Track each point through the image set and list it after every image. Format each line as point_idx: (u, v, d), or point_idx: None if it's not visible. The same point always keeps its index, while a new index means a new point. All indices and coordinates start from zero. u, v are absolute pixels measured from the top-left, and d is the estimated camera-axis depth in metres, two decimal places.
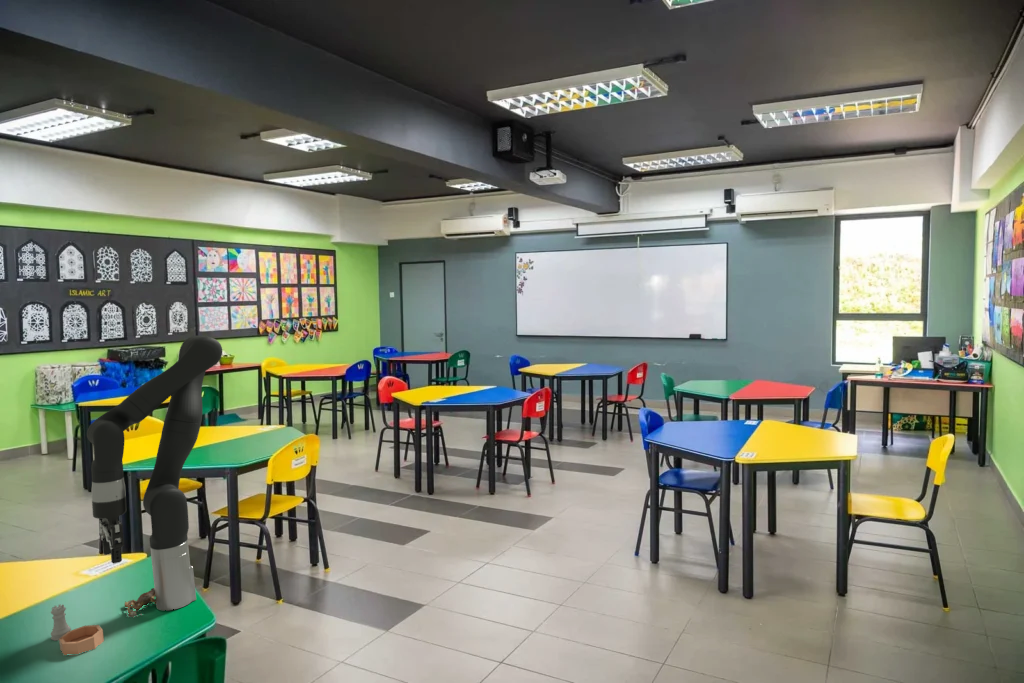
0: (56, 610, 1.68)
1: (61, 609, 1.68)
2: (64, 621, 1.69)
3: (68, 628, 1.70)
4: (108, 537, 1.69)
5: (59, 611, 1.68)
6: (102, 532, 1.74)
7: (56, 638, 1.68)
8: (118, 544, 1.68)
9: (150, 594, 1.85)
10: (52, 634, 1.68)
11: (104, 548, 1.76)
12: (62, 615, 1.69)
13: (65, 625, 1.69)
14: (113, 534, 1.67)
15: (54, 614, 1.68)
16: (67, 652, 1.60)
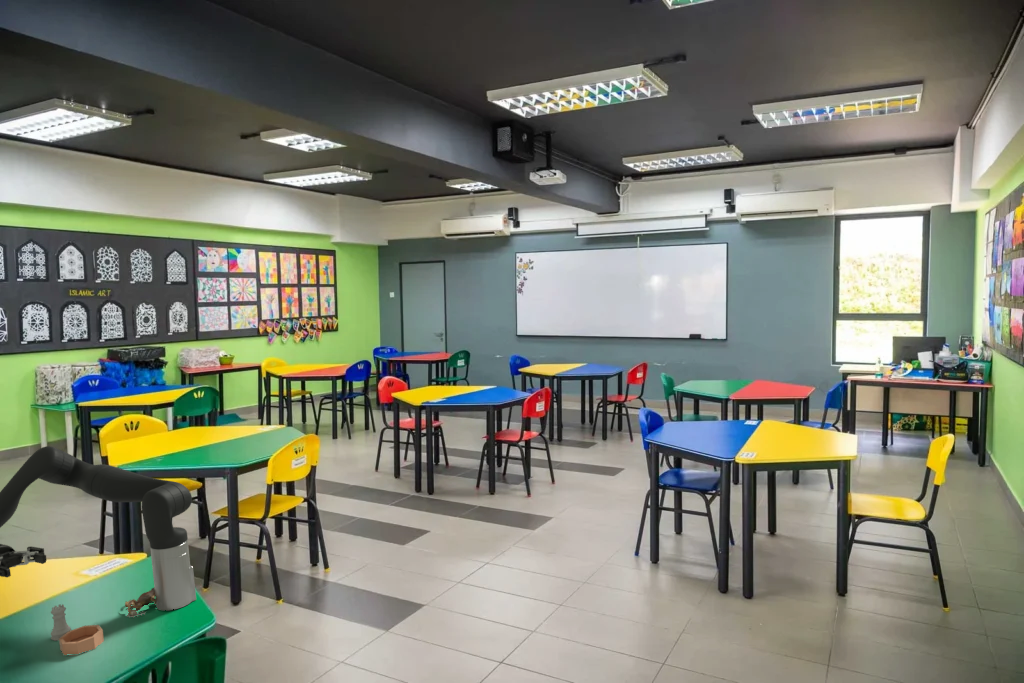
0: (56, 610, 1.68)
1: (61, 609, 1.68)
2: (64, 621, 1.69)
3: (68, 628, 1.70)
4: None
5: (59, 611, 1.68)
6: (22, 564, 1.78)
7: (56, 638, 1.68)
8: None
9: (150, 594, 1.85)
10: (52, 634, 1.68)
11: (39, 562, 1.77)
12: (62, 615, 1.69)
13: (65, 625, 1.69)
14: None
15: (54, 614, 1.68)
16: (67, 652, 1.60)
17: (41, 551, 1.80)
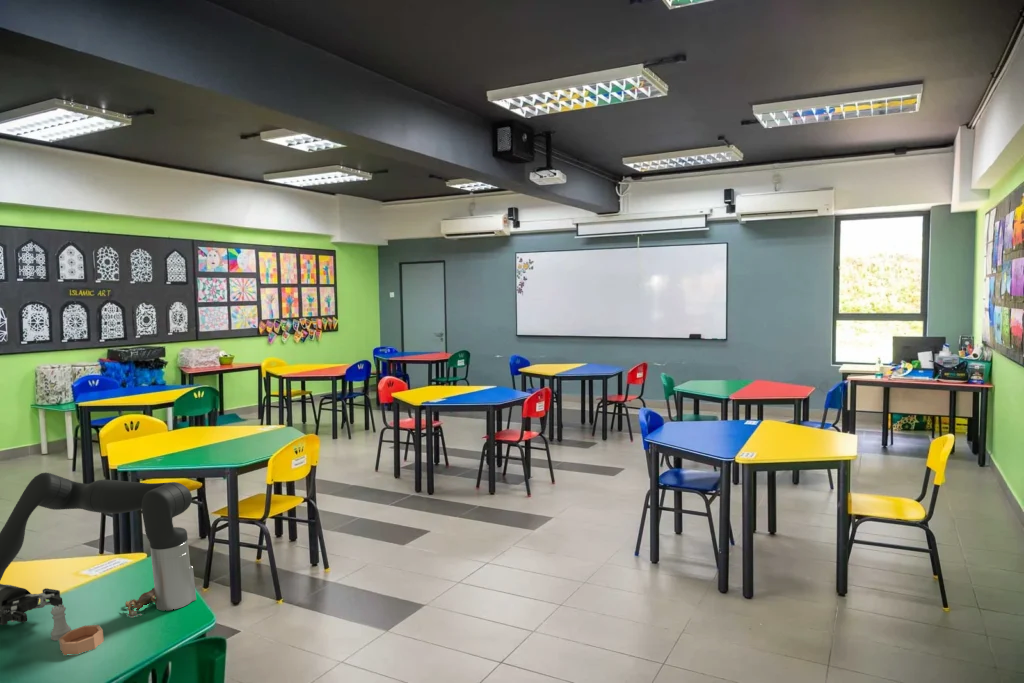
0: (56, 610, 1.68)
1: (61, 609, 1.68)
2: (64, 621, 1.69)
3: (68, 628, 1.70)
4: None
5: (59, 611, 1.68)
6: (38, 607, 1.77)
7: (56, 638, 1.68)
8: (1, 619, 1.68)
9: (151, 594, 1.85)
10: (52, 634, 1.68)
11: (55, 605, 1.76)
12: (62, 615, 1.69)
13: (65, 625, 1.69)
14: None
15: (54, 614, 1.68)
16: (67, 652, 1.60)
17: (57, 593, 1.79)
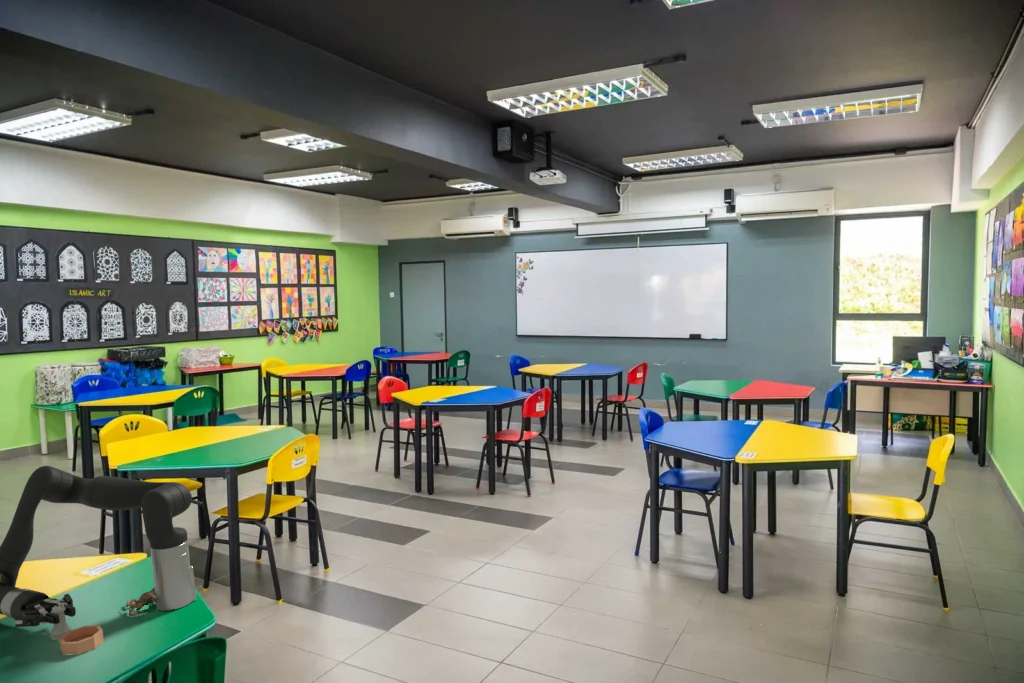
0: (56, 610, 1.68)
1: (61, 609, 1.68)
2: (64, 621, 1.69)
3: (68, 628, 1.70)
4: None
5: (59, 611, 1.68)
6: None
7: (56, 638, 1.68)
8: (33, 621, 1.66)
9: (151, 594, 1.86)
10: (52, 634, 1.68)
11: (68, 615, 1.70)
12: (62, 615, 1.69)
13: (65, 625, 1.69)
14: (22, 625, 1.66)
15: None
16: (67, 652, 1.60)
17: (68, 603, 1.73)
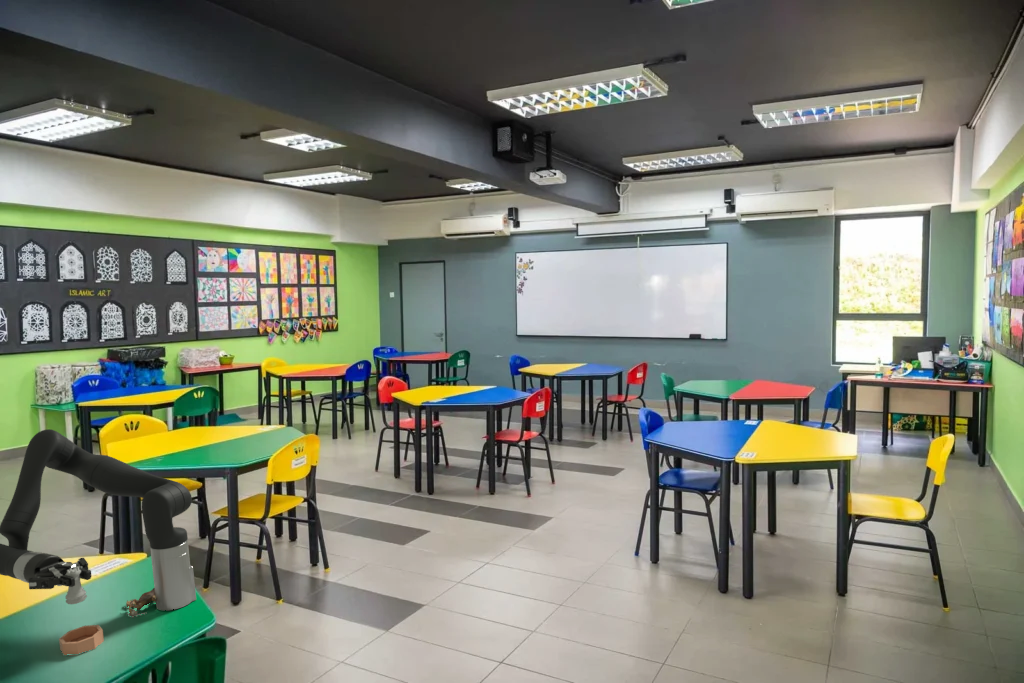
0: (71, 572, 1.62)
1: (76, 572, 1.62)
2: (79, 584, 1.63)
3: (83, 591, 1.64)
4: None
5: (74, 574, 1.62)
6: None
7: (71, 601, 1.62)
8: (47, 583, 1.60)
9: (151, 594, 1.86)
10: (67, 597, 1.62)
11: (84, 578, 1.64)
12: (77, 578, 1.63)
13: (80, 588, 1.63)
14: (36, 588, 1.60)
15: None
16: (67, 652, 1.60)
17: (84, 566, 1.67)
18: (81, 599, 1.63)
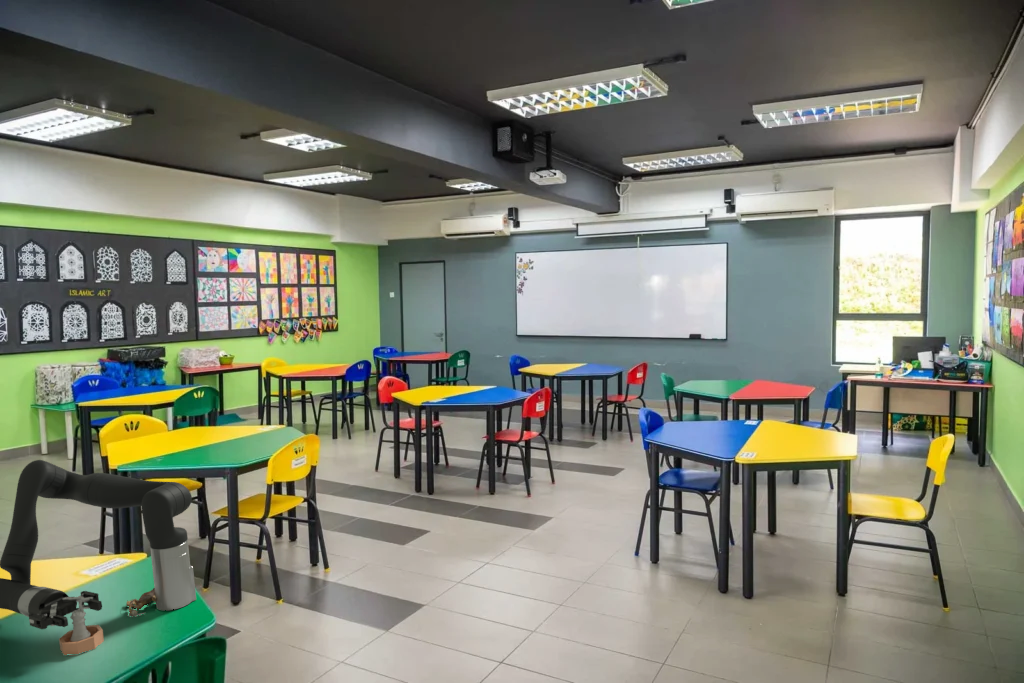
0: (76, 615, 1.63)
1: (81, 614, 1.63)
2: (84, 626, 1.64)
3: (88, 634, 1.65)
4: None
5: (79, 616, 1.63)
6: (76, 611, 1.68)
7: None
8: (40, 623, 1.59)
9: (151, 593, 1.86)
10: (72, 640, 1.63)
11: (94, 609, 1.67)
12: (82, 620, 1.64)
13: (85, 630, 1.64)
14: (33, 625, 1.60)
15: (74, 619, 1.63)
16: (67, 652, 1.60)
17: (95, 597, 1.70)
18: None
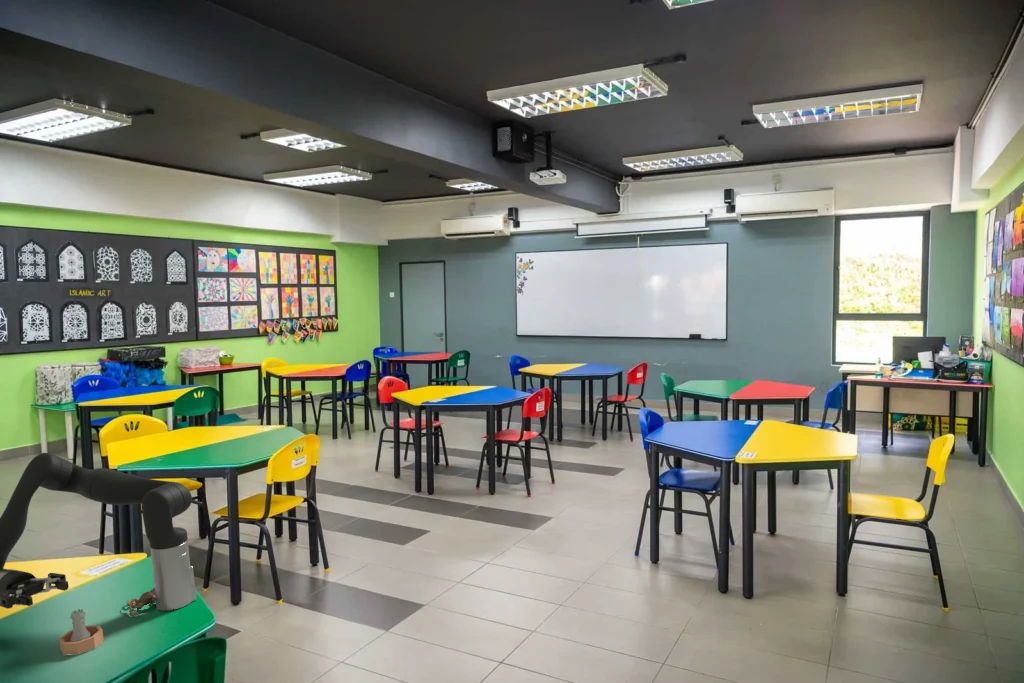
0: (76, 615, 1.63)
1: (81, 614, 1.63)
2: (84, 626, 1.64)
3: (88, 633, 1.65)
4: None
5: (79, 616, 1.63)
6: (43, 591, 1.73)
7: None
8: (6, 603, 1.64)
9: (152, 593, 1.86)
10: (72, 640, 1.63)
11: (61, 589, 1.73)
12: (82, 620, 1.64)
13: (85, 630, 1.64)
14: (0, 605, 1.66)
15: (74, 619, 1.63)
16: (67, 652, 1.60)
17: (63, 577, 1.76)
18: None
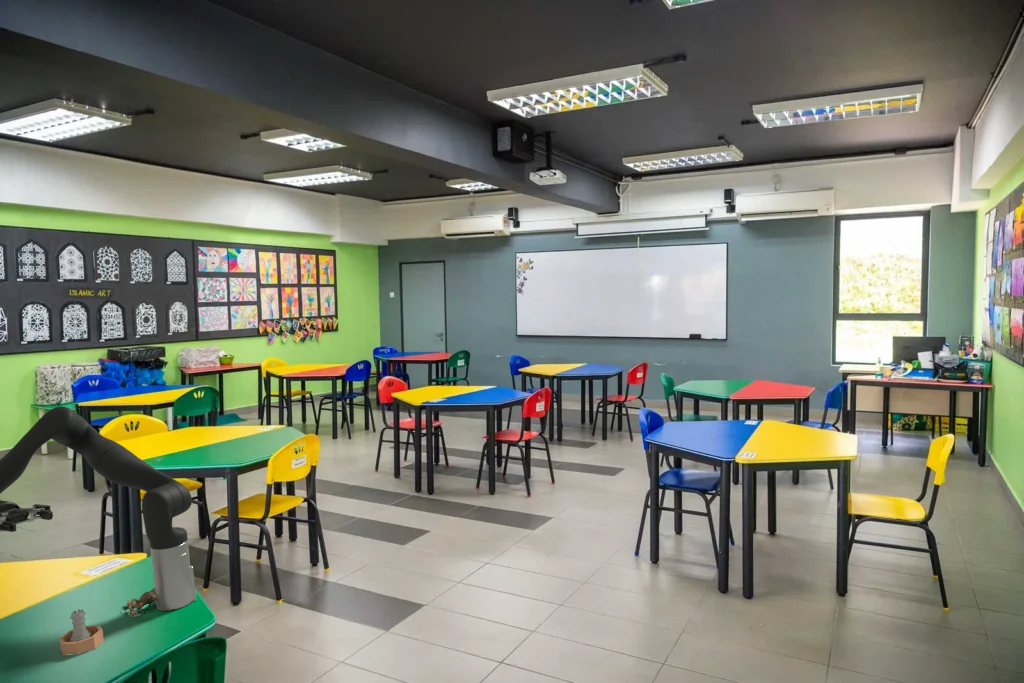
0: (76, 615, 1.63)
1: (81, 614, 1.63)
2: (84, 626, 1.64)
3: (88, 634, 1.65)
4: None
5: (79, 616, 1.63)
6: (28, 521, 1.73)
7: None
8: None
9: (152, 593, 1.86)
10: (72, 640, 1.63)
11: (45, 518, 1.72)
12: (82, 620, 1.64)
13: (85, 630, 1.64)
14: None
15: (74, 619, 1.63)
16: (67, 652, 1.60)
17: (47, 508, 1.76)
18: None
